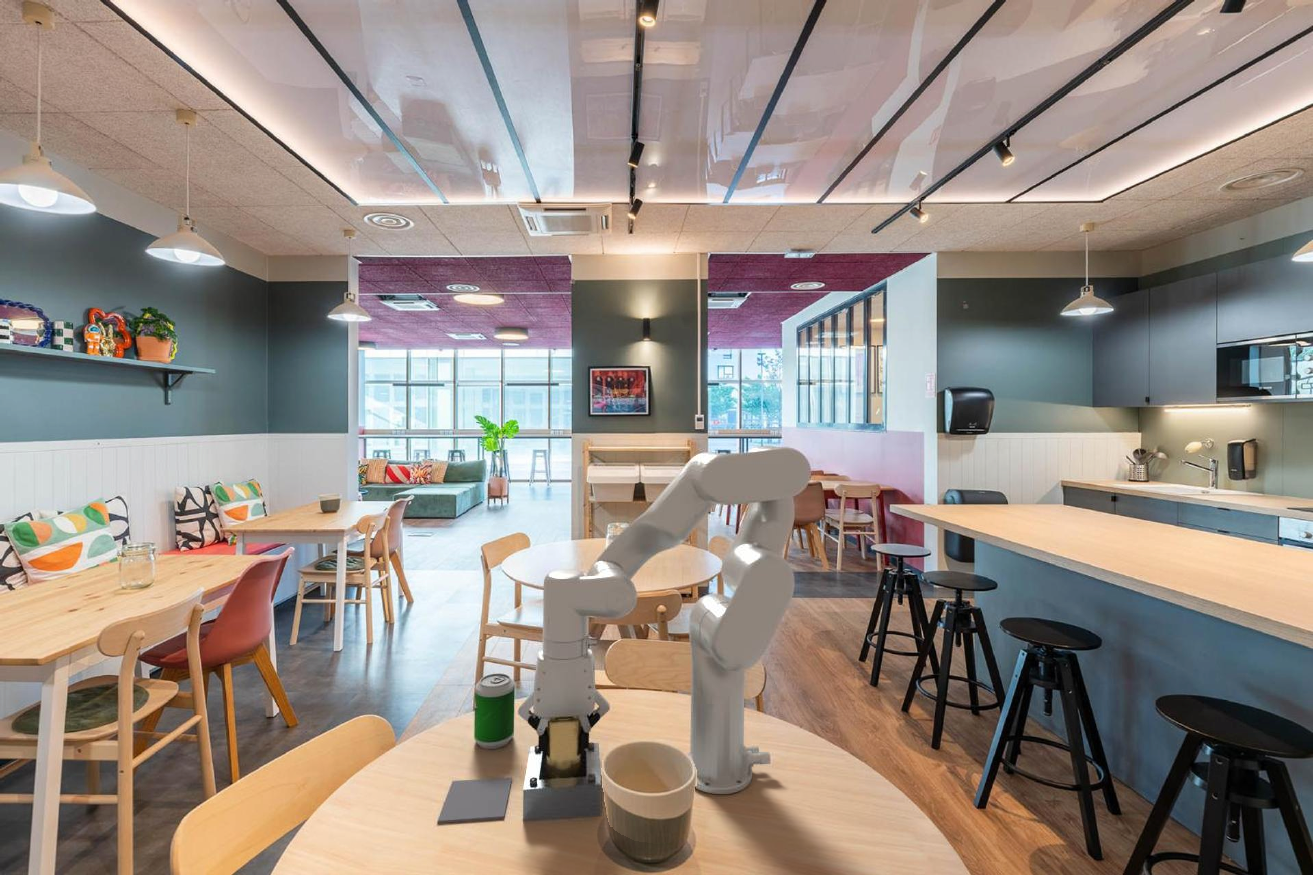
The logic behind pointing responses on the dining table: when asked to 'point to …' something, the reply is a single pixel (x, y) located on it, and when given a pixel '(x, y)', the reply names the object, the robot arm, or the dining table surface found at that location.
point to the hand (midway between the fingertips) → (563, 752)
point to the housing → (562, 789)
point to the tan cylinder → (563, 747)
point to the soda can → (494, 710)
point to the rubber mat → (476, 800)
